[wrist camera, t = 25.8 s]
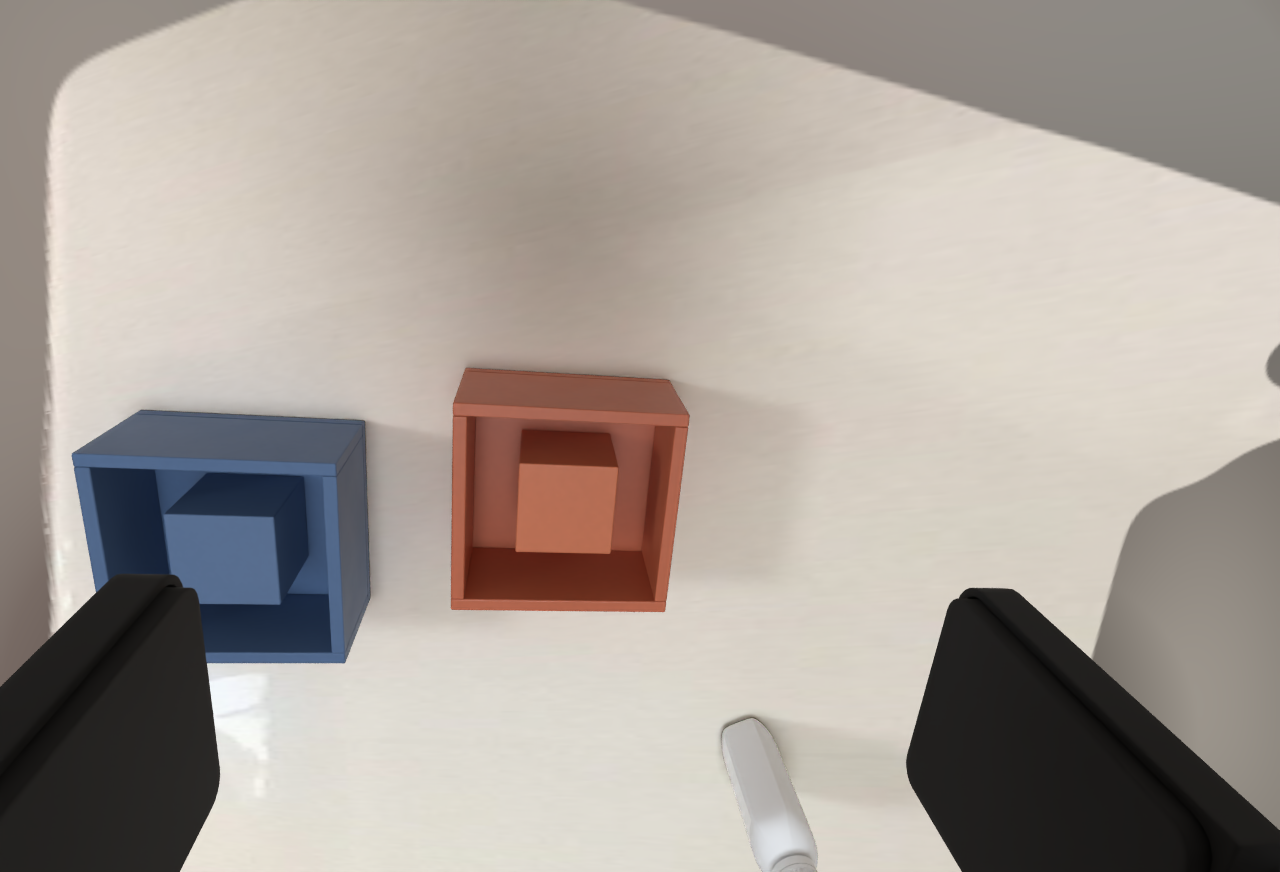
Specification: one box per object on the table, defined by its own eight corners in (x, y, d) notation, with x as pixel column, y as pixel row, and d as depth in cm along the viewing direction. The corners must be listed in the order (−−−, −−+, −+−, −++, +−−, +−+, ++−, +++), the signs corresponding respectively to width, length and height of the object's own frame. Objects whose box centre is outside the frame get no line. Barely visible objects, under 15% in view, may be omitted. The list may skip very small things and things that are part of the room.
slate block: (206, 472, 36) (162, 514, 32) (304, 476, 37) (273, 517, 32) (215, 554, 37) (174, 604, 33) (309, 556, 38) (280, 605, 34)
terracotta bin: (465, 367, 36) (452, 402, 31) (669, 379, 38) (690, 415, 33) (462, 551, 40) (450, 610, 35) (649, 555, 41) (665, 612, 36)
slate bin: (140, 409, 35) (70, 453, 30) (365, 420, 37) (336, 463, 31) (166, 595, 38) (107, 663, 33) (370, 598, 40) (345, 663, 35)
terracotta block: (521, 428, 37) (518, 463, 33) (610, 433, 38) (619, 467, 34) (517, 509, 39) (515, 552, 34) (603, 512, 39) (610, 554, 35)
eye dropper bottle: (708, 783, 48) (760, 974, 37) (724, 713, 46) (784, 891, 35) (773, 784, 48) (842, 971, 37) (791, 715, 47) (870, 890, 35)
